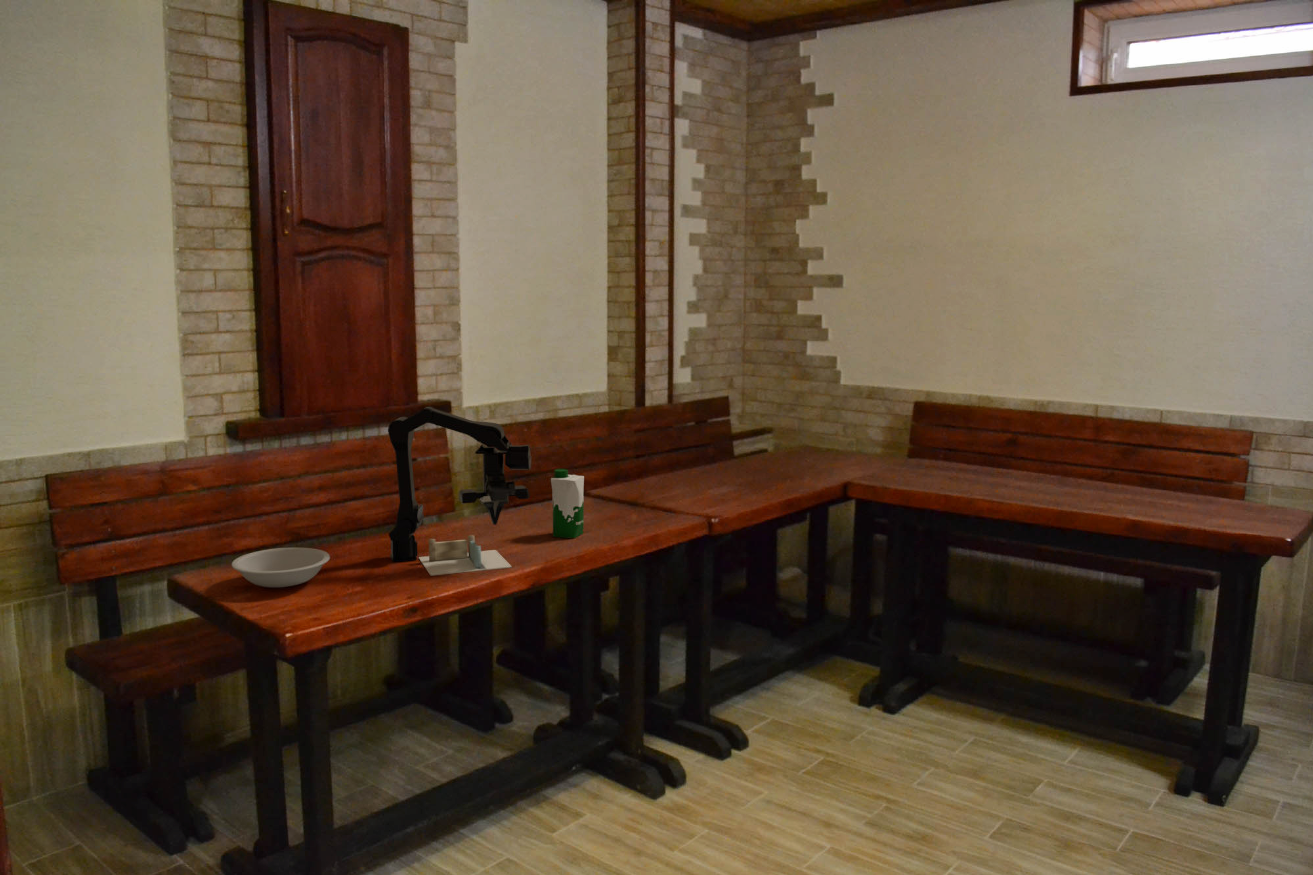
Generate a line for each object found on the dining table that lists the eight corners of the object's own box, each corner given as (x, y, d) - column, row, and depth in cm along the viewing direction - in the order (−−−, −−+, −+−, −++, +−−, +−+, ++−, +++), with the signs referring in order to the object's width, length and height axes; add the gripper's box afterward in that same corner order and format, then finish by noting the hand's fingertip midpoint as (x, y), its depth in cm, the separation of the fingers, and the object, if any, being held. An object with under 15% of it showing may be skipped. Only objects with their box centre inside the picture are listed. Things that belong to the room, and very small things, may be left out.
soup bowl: (217, 583, 288) (215, 558, 287) (303, 565, 305) (302, 542, 304) (258, 604, 271) (257, 578, 270) (348, 584, 288) (346, 559, 287)
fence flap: (469, 556, 311) (468, 537, 310) (475, 556, 312) (475, 536, 311) (474, 567, 301) (474, 547, 300) (481, 567, 301) (481, 547, 300)
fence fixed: (429, 561, 308) (429, 540, 307) (428, 560, 309) (428, 539, 308) (475, 557, 312) (475, 536, 311) (474, 555, 314) (473, 535, 313)
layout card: (430, 575, 295) (430, 574, 295) (418, 558, 312) (418, 556, 312) (511, 567, 303) (511, 566, 303) (495, 550, 320) (495, 549, 320)
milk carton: (560, 530, 344) (559, 467, 341) (587, 532, 341) (587, 468, 338) (548, 537, 336) (547, 472, 333) (576, 539, 333) (575, 474, 330)
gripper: (465, 477, 297) (467, 534, 299) (533, 472, 303) (534, 528, 306) (457, 469, 307) (459, 524, 309) (523, 465, 313) (524, 519, 316)
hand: (494, 524), depth 310 cm, fingers closed
